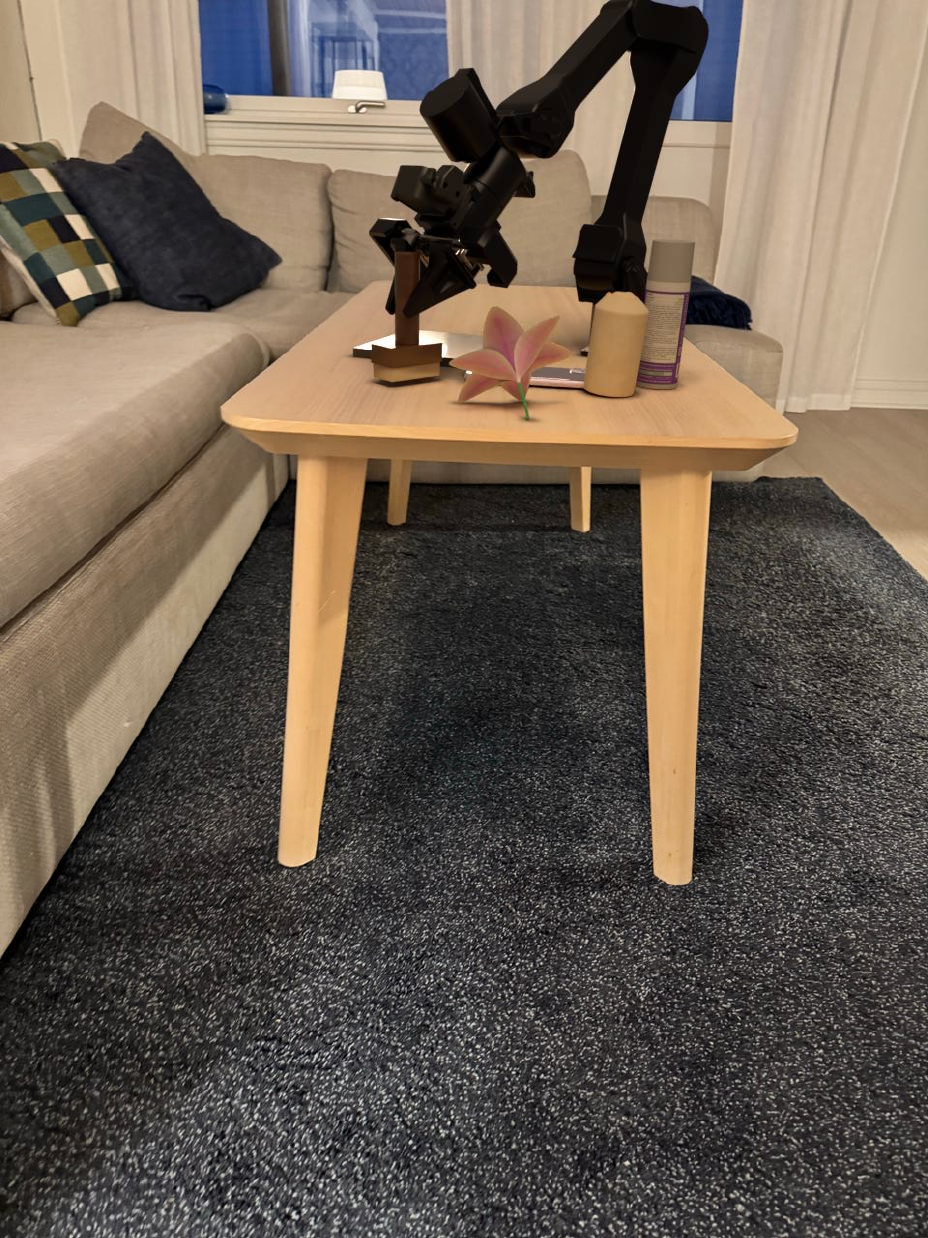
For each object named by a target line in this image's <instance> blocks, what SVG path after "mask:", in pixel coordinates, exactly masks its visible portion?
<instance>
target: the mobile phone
mask: <svg viewBox="0 0 928 1238" xmlns="http://www.w3.org/2000/svg"><path fill="white" fill-rule="evenodd" d="M585 370H586V368H582V367H559V366H558V367H555V366H544V367H542V368H540V369H537V370H535V371H533V372H531V378H530V383H529V386H537V387H553V388H569V389H584V377H585ZM471 373H472V372H469V371H466V370H465V372H464V374H463V378H464V379H465V381H466V380H467V378H468V377H469V375H470V374H471Z"/></svg>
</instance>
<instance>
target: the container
mask: <svg viewBox="0 0 928 1238" xmlns="http://www.w3.org/2000/svg"><path fill="white" fill-rule="evenodd" d="M650 248H651V249H650V254H649V255H650V256H649V264H648V270H647V273H648V276H647V283H646V290H645V299H644V305H645V306H646V308H647V309H648V311H649V314H648V319H647V325H646V330H645V336H644V342H643V347H642V353H641V358H640V364H639V369H638V375H637V381H636V386H637V387H640V388H644V389H649V390H650V389H651V390H673V389H676V388H677V387H678V381H679V374H680V367H681V360H682V353H683V344H684V337H685V330H686V322H687V315H688V308H689V300H690V293H691V283H692V274H693V265H694V257H695V249H696V242H695V241H693V240H683V239H662V238H660V239H659V238H657V239H652V241H651V247H650Z"/></svg>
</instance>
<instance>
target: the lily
mask: <svg viewBox="0 0 928 1238" xmlns="http://www.w3.org/2000/svg"><path fill="white" fill-rule="evenodd" d="M560 320H561V316H560V315H555V316H553V317H549V318H547V319H545V320H542V321H541V322H538V323H537V324H535V325H533V326H531V327H530V328H528V329H526V330H524V328H523V327H522V325H521V324H520V322H519V321H518V320H516V319H515V317H514V316H512V315H511V314H510V313H508V312H507V311H506V310H505V309H504V308H501V307H500V306H497V305H496V306H492V307H491V308H490V309H489V311H488V313H487V315H486V318H485V321H484V325H483V330H482V336H483V337H482V343H483V349H482V350H477V351H473V352H470V353H467V354H464V355H462V356H460V357H457V358H455V359H453V360H451V361H450V362H449V364H450V365H451V366H454V367H453V368H457V369H459V370H463V371H465V372H466V371H469V372H472V373H471V374H470V375H469V377H468V378H467V380H466V379H465V381H464V383H463V385H462V388H461V389H460V392H459V395H458V398H457V402H458V403H459V404H462V403H465V402H467V401H469V400H471V399H473V398H475V397H477V396H479V395H481V394H483V393H485V392H487V391H489V390H492V389H495V388H497V387H499V386H500V387H501V388H502V389H503V390H504V391H505V392H507V393H508V394H509V395H511V396H512V397H513V398H514V399H516V400H518V401H520V402H522V406H523V409H524V415H525V418H526V420H530V414H529V410H528V406H527V402H526V397H527V394H528V390H529V387H530V385H529V383H530V378H531V372H533V371H535V370H537V369H540V368H542V367H548V366H551V365H553V364H556V363H559V362H564V361H565V360H568V359H570V358H571V357H573V356H574V354H573V352H572V351H571V350H570V349H568V348H566V347H564V346H562V345H560V344H558V343H555V342H552V341H548V340H549V338H550V336H551V335H552V333H553V331H554V330H555V328H556V327H557V325H558V323H559V321H560Z"/></svg>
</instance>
